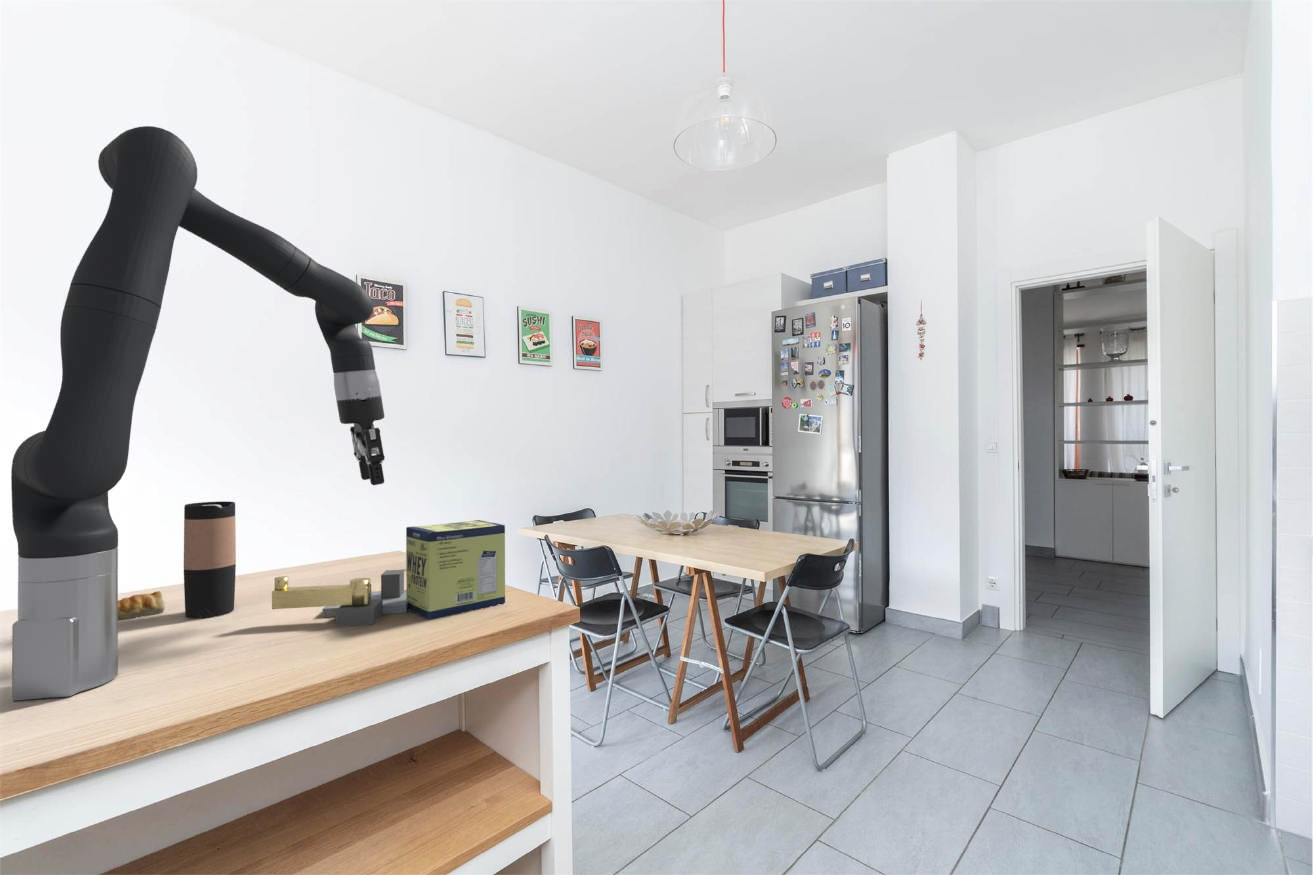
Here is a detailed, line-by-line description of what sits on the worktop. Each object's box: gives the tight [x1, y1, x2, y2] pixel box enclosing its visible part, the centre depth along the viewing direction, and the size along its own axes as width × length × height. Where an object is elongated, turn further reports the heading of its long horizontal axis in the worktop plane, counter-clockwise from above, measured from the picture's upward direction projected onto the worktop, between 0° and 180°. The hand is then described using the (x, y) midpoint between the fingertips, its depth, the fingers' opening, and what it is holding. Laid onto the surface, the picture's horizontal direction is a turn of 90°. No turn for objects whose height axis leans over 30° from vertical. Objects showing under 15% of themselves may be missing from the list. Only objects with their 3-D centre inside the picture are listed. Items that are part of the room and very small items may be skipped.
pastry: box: [118, 590, 166, 621], centre depth 107 cm, size 9×7×4 cm
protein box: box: [405, 519, 506, 621], centre depth 113 cm, size 10×16×16 cm
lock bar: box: [271, 575, 372, 610], centre depth 103 cm, size 15×3×5 cm, turn 102°
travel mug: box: [183, 500, 237, 620], centre depth 108 cm, size 8×8×20 cm
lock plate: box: [322, 569, 409, 627], centre depth 110 cm, size 17×14×6 cm
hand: (372, 481), depth 112 cm, fingers open, 8 cm apart
